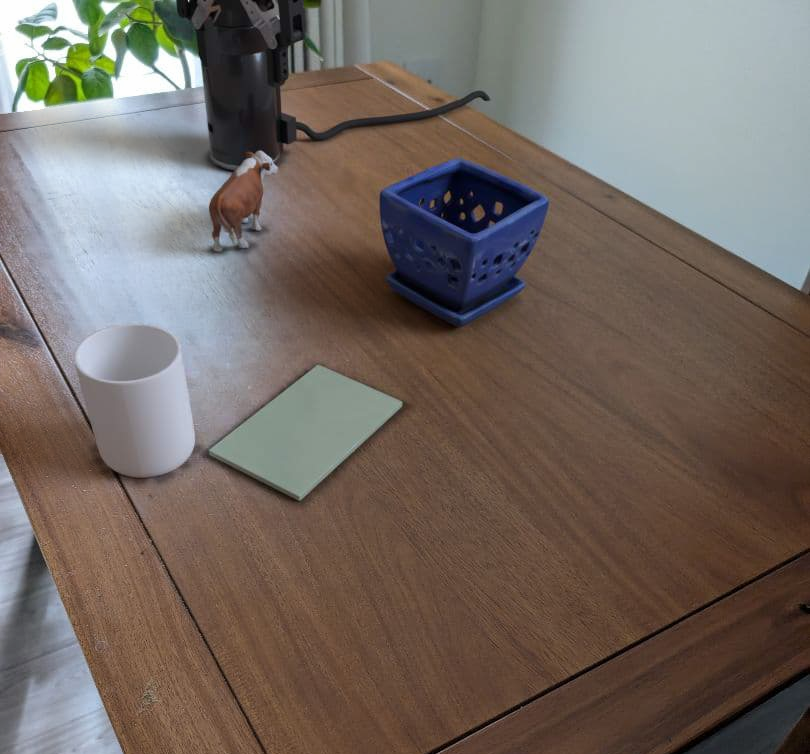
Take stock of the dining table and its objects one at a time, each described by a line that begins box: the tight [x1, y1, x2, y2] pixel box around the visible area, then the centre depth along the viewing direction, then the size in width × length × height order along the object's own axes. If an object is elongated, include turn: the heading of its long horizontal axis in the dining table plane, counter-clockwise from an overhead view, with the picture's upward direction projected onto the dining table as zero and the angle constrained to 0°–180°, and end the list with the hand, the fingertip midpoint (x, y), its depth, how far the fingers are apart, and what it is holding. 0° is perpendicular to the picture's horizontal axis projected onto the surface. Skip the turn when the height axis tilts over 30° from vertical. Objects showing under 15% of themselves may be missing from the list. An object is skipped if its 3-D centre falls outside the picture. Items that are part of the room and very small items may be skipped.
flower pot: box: [379, 157, 550, 328], centre depth 91 cm, size 13×13×12 cm
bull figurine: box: [208, 151, 279, 253], centre depth 100 cm, size 4×13×8 cm, turn 160°
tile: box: [208, 364, 403, 502], centre depth 79 cm, size 16×10×1 cm, turn 147°
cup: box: [73, 322, 196, 479], centre depth 73 cm, size 8×12×10 cm
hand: (244, 76), depth 90 cm, fingers open, 8 cm apart
